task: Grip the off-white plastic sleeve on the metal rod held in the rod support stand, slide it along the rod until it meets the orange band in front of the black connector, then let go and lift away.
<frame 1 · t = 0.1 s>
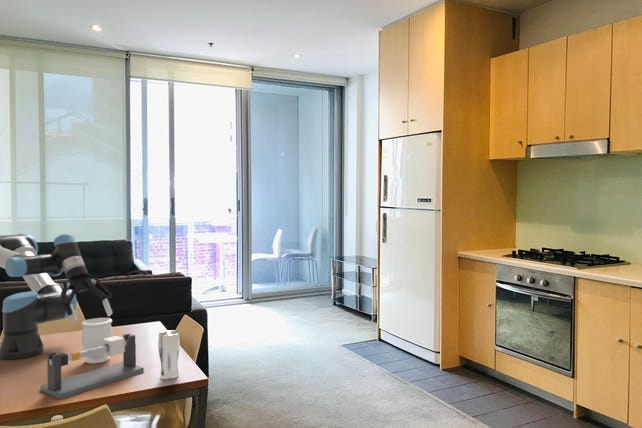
hand: (93, 318, 187), 15 cm above the table, tool tilted 35°, fingers open, 13 cm apart
rod support stand: (94, 380, 164), on the table
guide rod: (94, 350, 164), point 10 cm above the table
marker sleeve: (113, 345, 170), point 10 cm above the table, slide at 0.0 cm
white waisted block: (169, 377, 168), on the table
jar: (97, 360, 185), on the table
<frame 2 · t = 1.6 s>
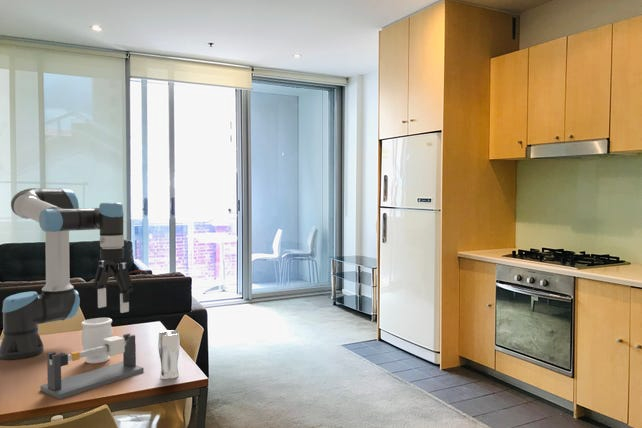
hand: (113, 309, 169), 23 cm above the table, tool pointing down, fingers open, 13 cm apart
nothing on the table moved.
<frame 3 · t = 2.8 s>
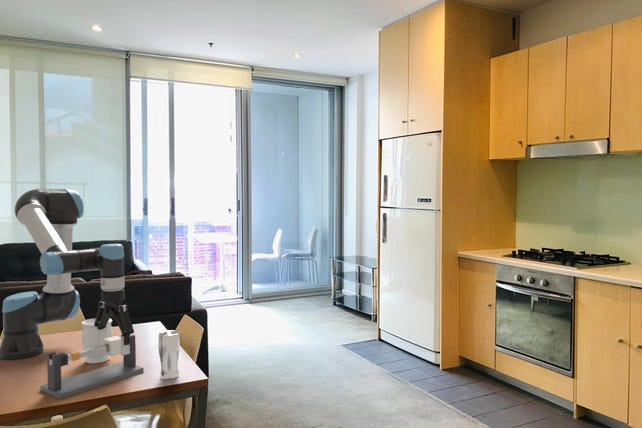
hand: (113, 351, 169), 8 cm above the table, tool pointing down, fingers open, 13 cm apart
nothing on the table moved.
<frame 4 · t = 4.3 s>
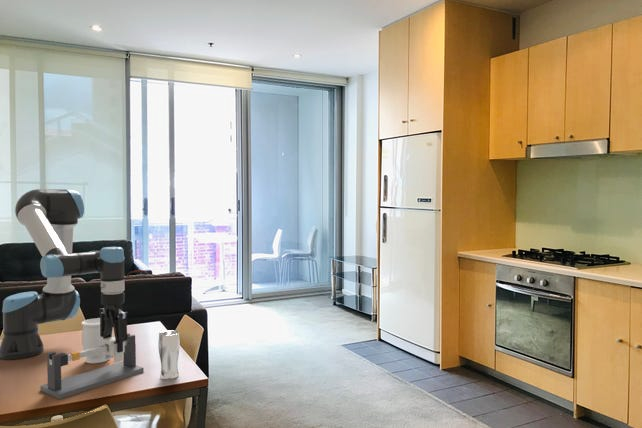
hand: (113, 359, 170), 5 cm above the table, tool pointing down, fingers closed on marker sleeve, 5 cm apart
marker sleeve: (113, 345, 170), point 10 cm above the table, slide at 0.0 cm, touching gripper
everything else where it was.
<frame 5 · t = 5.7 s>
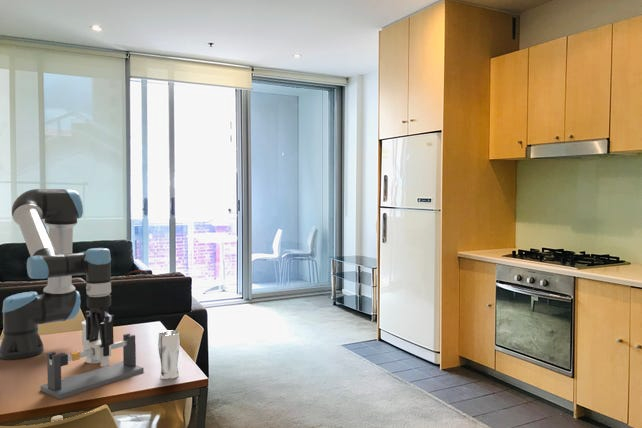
hand: (100, 363, 166), 5 cm above the table, tool pointing down, fingers closed on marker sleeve, 5 cm apart
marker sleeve: (99, 349, 165), point 10 cm above the table, slide at 5.0 cm, touching gripper
everything else where it was.
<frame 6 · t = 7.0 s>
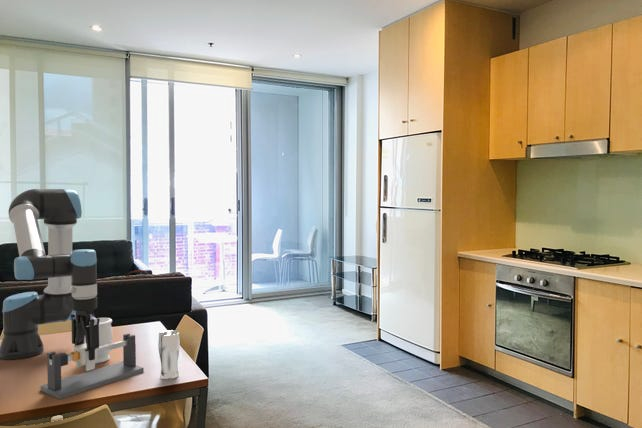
hand: (85, 367, 162), 5 cm above the table, tool pointing down, fingers closed on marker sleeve, 5 cm apart
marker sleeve: (85, 353, 161), point 10 cm above the table, slide at 10.0 cm, touching gripper
everything else where it was.
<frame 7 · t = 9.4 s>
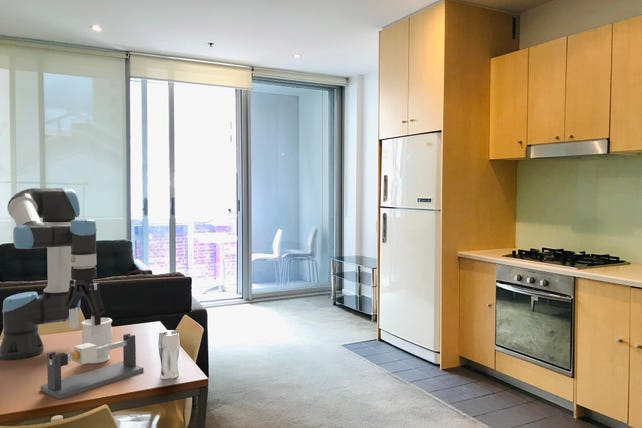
hand: (84, 331, 161), 17 cm above the table, tool pointing down, fingers open, 13 cm apart
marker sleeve: (85, 353, 161), point 10 cm above the table, slide at 10.0 cm
everything else where it was.
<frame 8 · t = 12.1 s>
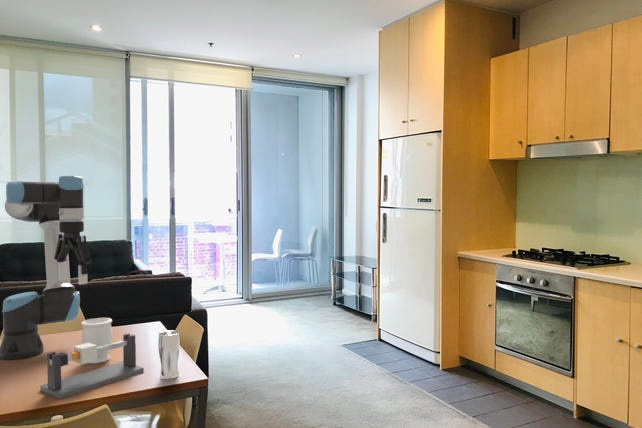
hand: (72, 282, 171), 32 cm above the table, tool pointing down, fingers open, 13 cm apart
nothing on the table moved.
at the end: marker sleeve slide at 10.0 cm; the gripper is holding nothing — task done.
